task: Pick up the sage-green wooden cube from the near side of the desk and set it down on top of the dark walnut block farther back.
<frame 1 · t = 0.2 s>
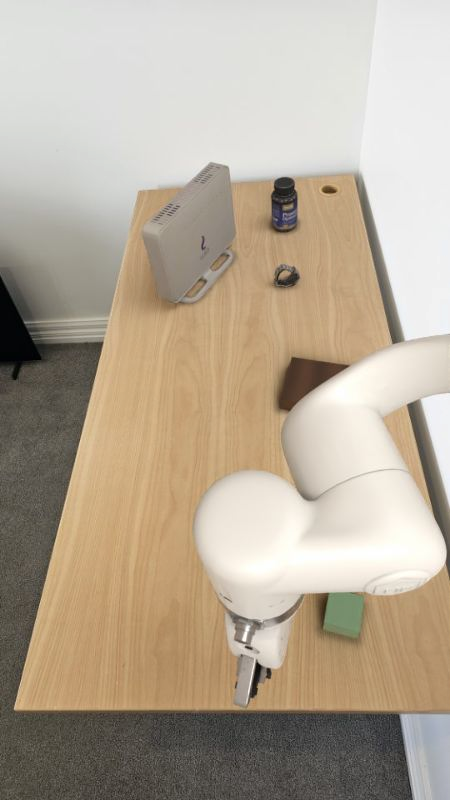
hand: (267, 622, 54), 16 cm above the table, tool pointing down, fingers open, 9 cm apart
network device: (200, 274, 114), on the table
pill bottle: (284, 225, 121), on the table
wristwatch: (287, 283, 109), on the table
walnut block: (318, 392, 91), on the table
green cube: (341, 616, 69), on the table
ink box: (384, 546, 74), on the table
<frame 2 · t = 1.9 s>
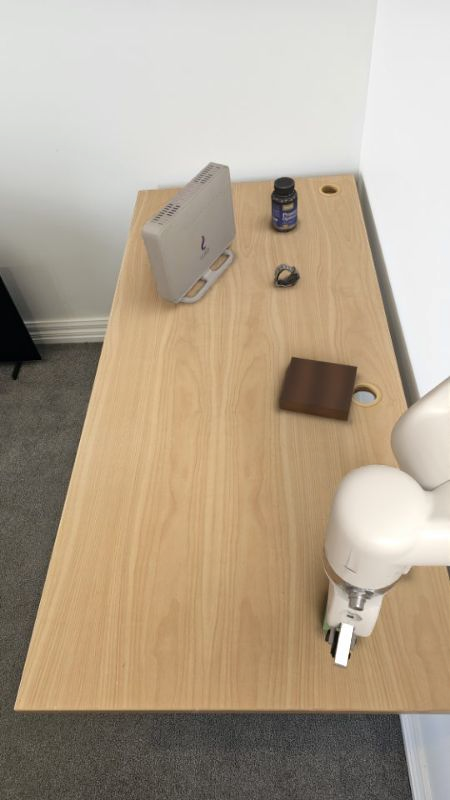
hand: (345, 601, 61), 9 cm above the table, tool pointing down, fingers open, 9 cm apart
nothing on the table moved.
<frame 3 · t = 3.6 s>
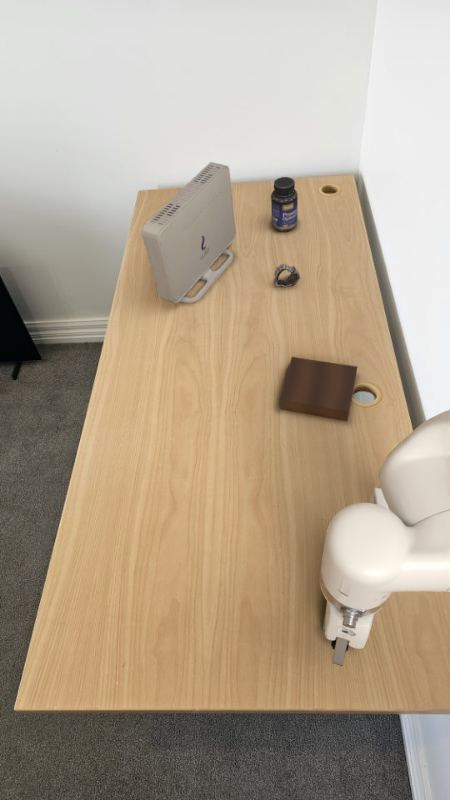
hand: (341, 616, 68), 0 cm above the table, tool pointing down, fingers closed on green cube, 4 cm apart
green cube: (341, 616, 69), on the table, touching gripper
everything else where it was.
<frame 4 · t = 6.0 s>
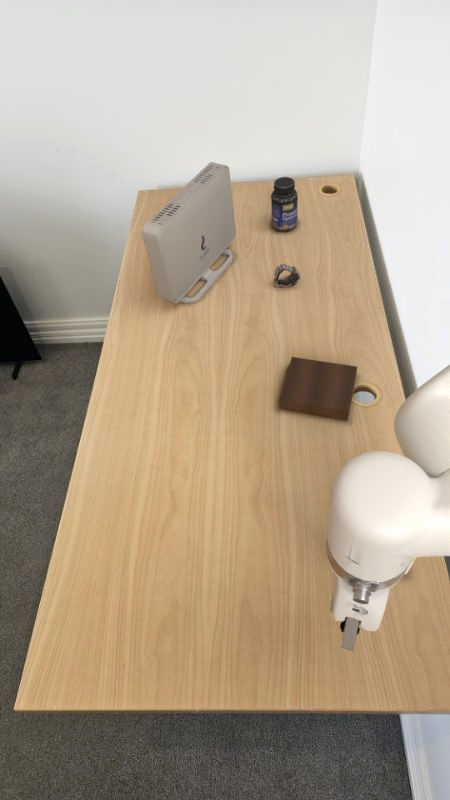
hand: (351, 596, 60), 10 cm above the table, tool pointing down, fingers closed on green cube, 4 cm apart
green cube: (351, 597, 61), point 10 cm above the table, touching gripper
everything else where it was.
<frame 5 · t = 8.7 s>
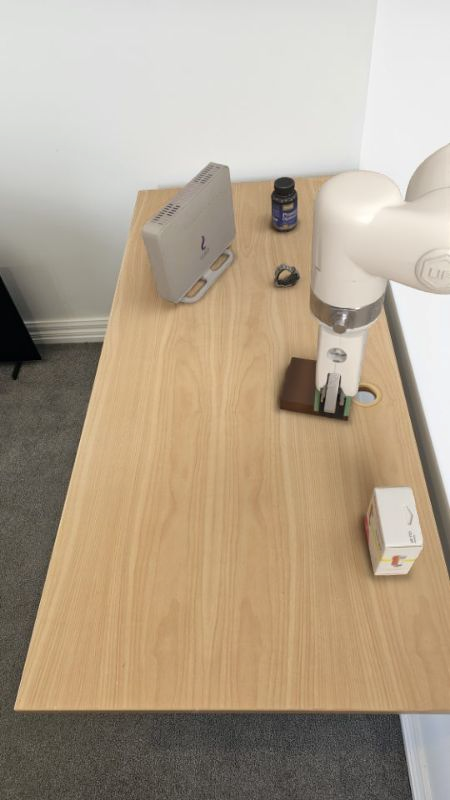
hand: (334, 398, 66), 19 cm above the table, tool pointing down, fingers closed on green cube, 4 cm apart
green cube: (333, 399, 67), point 19 cm above the table, touching gripper
everything else where it was.
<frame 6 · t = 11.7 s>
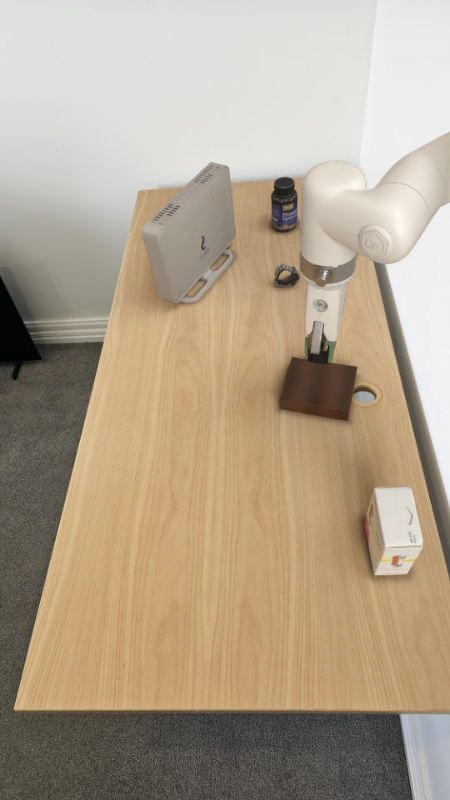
hand: (320, 349, 81), 12 cm above the table, tool pointing down, fingers closed on green cube, 4 cm apart
green cube: (320, 350, 82), point 12 cm above the table, touching gripper
everything else where it was.
when the fingers open (3 cm above the table, at t = 14.0 s): green cube stays where it is, resting on walnut block.
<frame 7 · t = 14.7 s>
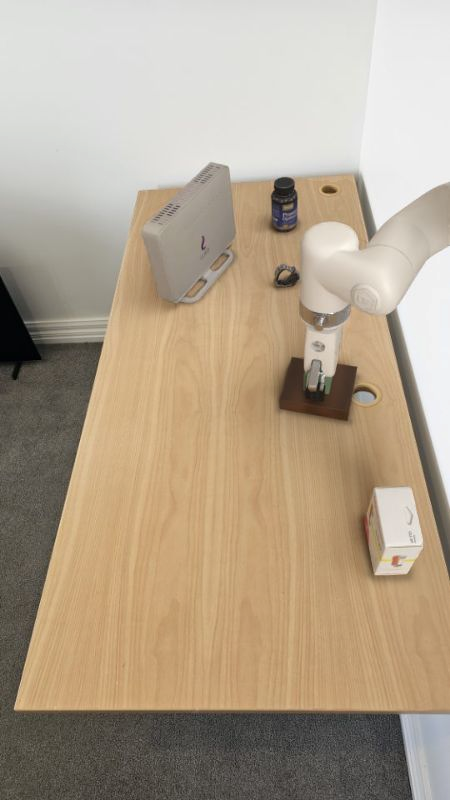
hand: (319, 377, 87), 5 cm above the table, tool pointing down, fingers open, 9 cm apart
walnut block: (318, 392, 91), on the table, touching green cube
green cube: (318, 382, 88), point 3 cm above the table, touching walnut block
everything else where it was.
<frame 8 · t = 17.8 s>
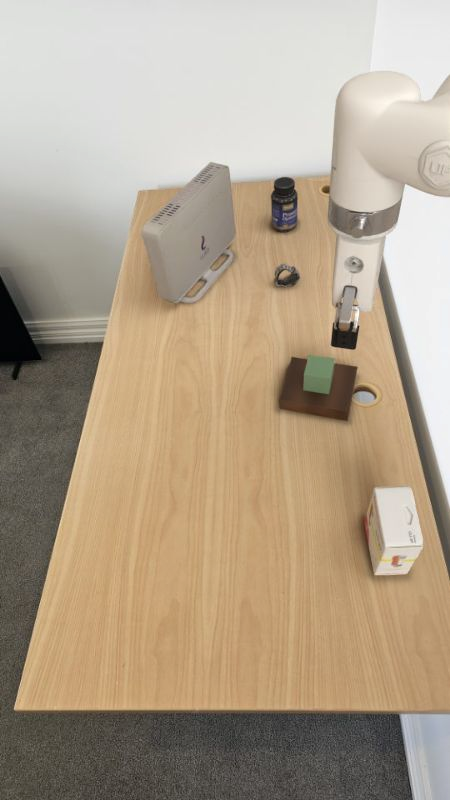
hand: (349, 320, 68), 24 cm above the table, tool pointing down, fingers open, 9 cm apart
nothing on the table moved.
at the end: green cube inside the target area on the walnut block (0.1 cm from its centre), point 3.0 cm above the walnut block's base; green cube tilted 0°; the gripper is holding nothing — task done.
